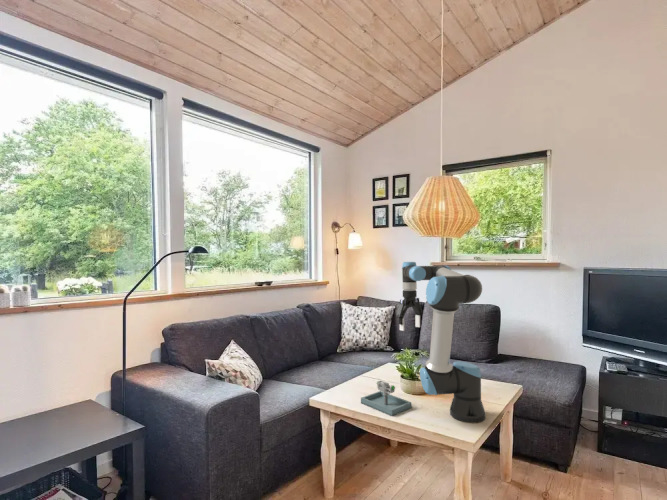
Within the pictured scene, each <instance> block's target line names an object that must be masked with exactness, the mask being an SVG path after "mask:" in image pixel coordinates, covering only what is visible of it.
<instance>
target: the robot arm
mask: <svg viewBox="0 0 667 500" xmlns="http://www.w3.org/2000/svg"><path fill="white" fill-rule="evenodd" d="M401 271H402V272H401V273H402V275H401V276H402V298H403V299H400V300H399V304H398V305H399V306H398V308H397V311H396V316H395V317H396V318H397V319H398V324H399V331H402V332H405V318H404V317H405V316H406V313H407V311H408V309H410V308H412V309H413V311H414V313H415V316H414V317H415V318H414V319H415V323H414V324H415V328H421V316H422V315H424V314H423V313H424V312H423V311H424V310H423V309H422V305H421V302H420V297H418V295H417V292H418V291H417V289H418V288H417V287H418V286H417V282H421V281H428V282H427V285H426V288H425V295H426V297H425V298H426V299H425V300H426V302H427V303H428V304H429V305H430V308H431V309H432V312H433V313H432V322H431V323H432V324H431V333H430V334H431V335H430V336H431V337H430V347H429V348H430V349H429V359H427V360H426V361H425V364H424V365H425V367H424V366H423V367H421V368H420V370H419V378H420V382H421V385H422V388H423V391H424V392H425V394H427V395H428V396H429V395H430V396H439V395H450V394H451V395H452V394H453V398H452V401H451V404H450V406H449V407H450V408H449V414H450V415H449V416H450V417H452V418H453V419H455V420H458V421H460V422H465V423H472V424H473V423H474V424H475V423H481V422H483V421H485V420H486V411H485V407H484V404H483V401H482V374H481V369H480V367H479V366H478V365H476V364H473V363H471V362H466V361H453V363H451V362H450V361H451V350H452V342H453V341H452V340H453V331H454V319H455V317H454V316H455V313H456V312H457V311H458V310H459V307H460V305H461V304H471V303H473V302H476V301H477V300H478V299H479V297H481V295H482V293H483V285H482V283H481V281H480V280H479V279H478V277H476V276H473V275H470V274H462V273H459V272H457V271H454V270H452V268H450V266H449V265H443V264H442V265H417V262H416V261H403V262H402V265H401Z"/></svg>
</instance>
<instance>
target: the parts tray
mask: <svg viewBox="0 0 667 500" xmlns="http://www.w3.org/2000/svg"><path fill="white" fill-rule="evenodd" d="M388 394H389V393H388ZM360 403H361V404H362V405H365V406H367V407H369V408H372V409H374V410H376V411H378V412H381V413H383V414H386V415H388V416H390V417H394V416H396V415H398V414H401V413H403V412H405V411H408V410H409V409H412V406H413V405H412V402H411V401H409V400H406V399H404V398H400V397H399V396H398V397H397V396H395V395H393V394H391V393H390V394H389V395H388V404H386V405H385V404H384V395H383V391H380V390H378V391H377V392H373V393H371V394H368V395H365V396H362V397H360Z"/></svg>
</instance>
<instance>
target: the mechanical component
mask: <svg viewBox="0 0 667 500" xmlns="http://www.w3.org/2000/svg"><path fill="white" fill-rule="evenodd" d="M376 386H377V387H376V388H377V389H378V391H382V392H383V395H384V404H385V405H386V404H388V395H389V394H390V395H391V394H392V393H395V390H396V386H394V384H393V385H390V382H386V381H383V380H378V381H377V382H376Z"/></svg>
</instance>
